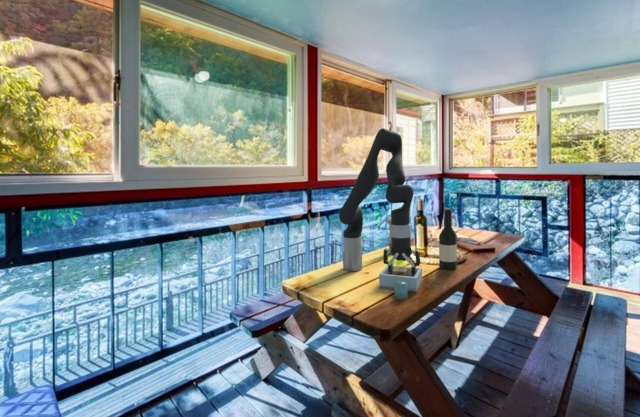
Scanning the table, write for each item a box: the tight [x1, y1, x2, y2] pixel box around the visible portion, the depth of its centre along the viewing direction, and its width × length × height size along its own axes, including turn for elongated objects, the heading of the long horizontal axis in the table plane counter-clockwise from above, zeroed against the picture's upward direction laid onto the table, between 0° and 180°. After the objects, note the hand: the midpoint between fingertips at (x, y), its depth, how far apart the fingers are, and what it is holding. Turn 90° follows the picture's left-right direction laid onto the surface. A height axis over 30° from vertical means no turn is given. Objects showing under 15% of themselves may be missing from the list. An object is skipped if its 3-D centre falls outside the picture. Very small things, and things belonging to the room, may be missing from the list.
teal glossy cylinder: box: [394, 281, 408, 300], centre depth 136 cm, size 5×5×6 cm
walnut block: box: [393, 265, 409, 276], centre depth 150 cm, size 6×7×6 cm
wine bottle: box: [438, 208, 458, 271], centre depth 168 cm, size 8×8×30 cm
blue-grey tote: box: [378, 264, 423, 293], centre depth 150 cm, size 16×14×6 cm
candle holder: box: [384, 218, 392, 256], centre depth 201 cm, size 9×9×20 cm
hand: (402, 274), depth 136 cm, fingers open, 8 cm apart
